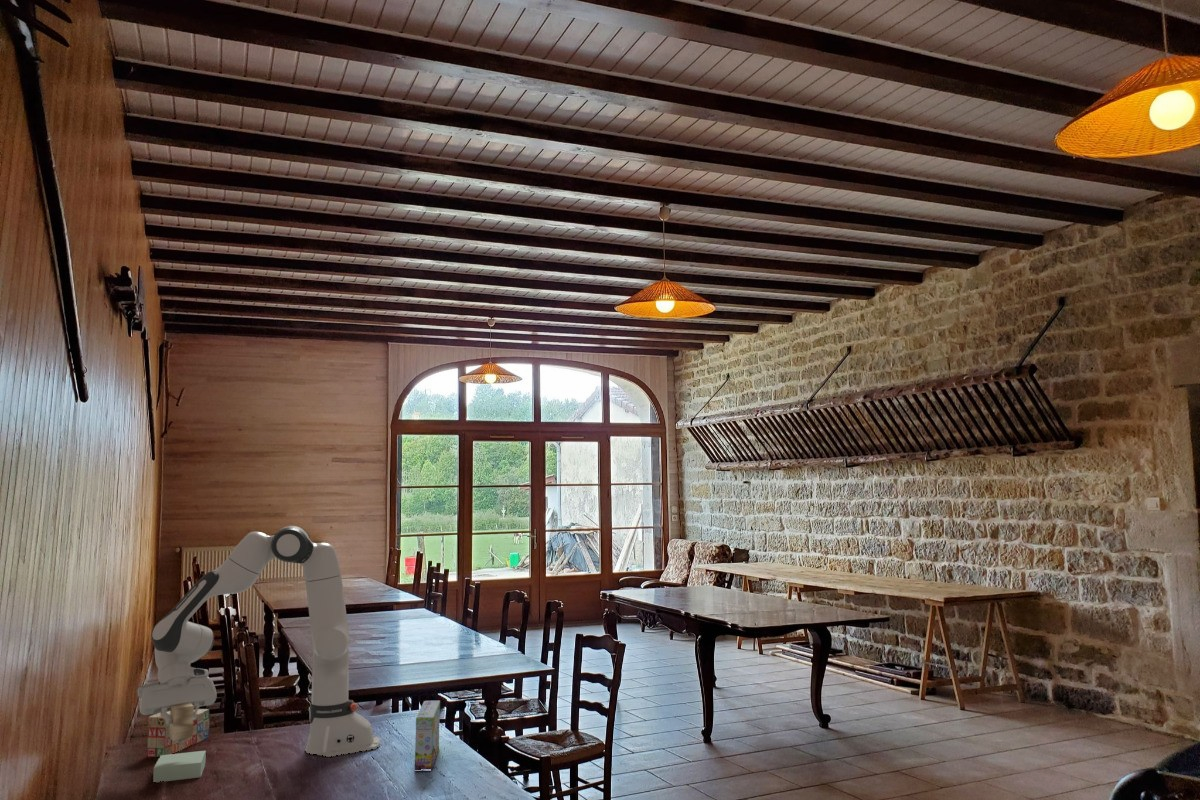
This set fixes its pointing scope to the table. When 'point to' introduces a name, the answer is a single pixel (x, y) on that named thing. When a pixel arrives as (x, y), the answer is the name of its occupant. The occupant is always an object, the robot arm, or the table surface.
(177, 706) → the maple block
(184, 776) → the plinth
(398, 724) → the table surface
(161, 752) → the stack of blocks
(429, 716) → the snack box
